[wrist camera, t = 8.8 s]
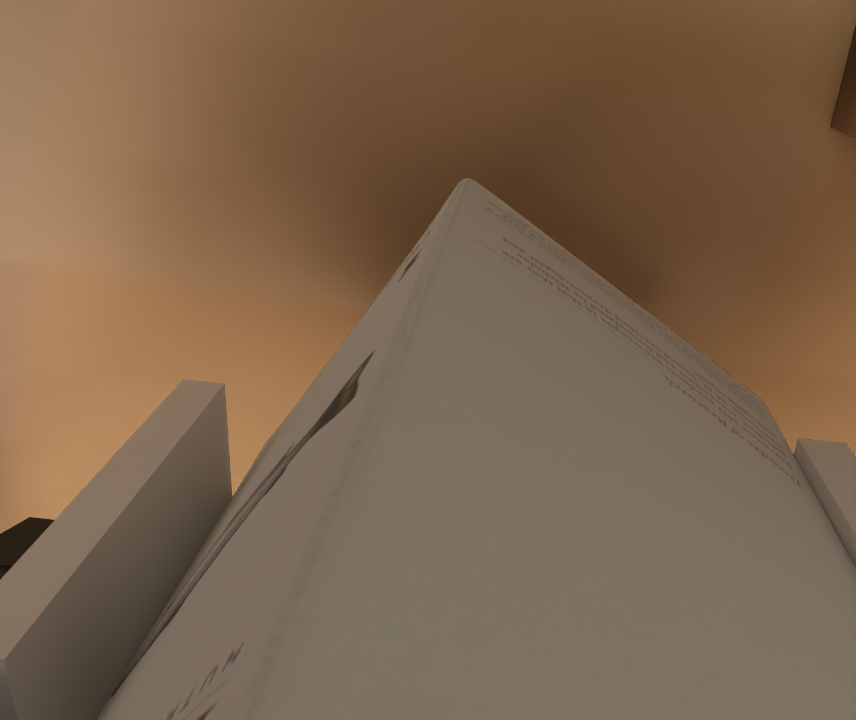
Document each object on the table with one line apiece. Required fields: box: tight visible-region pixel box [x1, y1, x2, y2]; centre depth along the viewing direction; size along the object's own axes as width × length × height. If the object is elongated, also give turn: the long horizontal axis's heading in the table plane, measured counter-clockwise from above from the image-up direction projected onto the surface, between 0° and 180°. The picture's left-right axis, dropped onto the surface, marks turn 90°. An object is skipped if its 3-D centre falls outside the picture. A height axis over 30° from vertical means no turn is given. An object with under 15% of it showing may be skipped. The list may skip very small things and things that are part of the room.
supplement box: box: [96, 178, 856, 720], centre depth 11 cm, size 7×7×13 cm
